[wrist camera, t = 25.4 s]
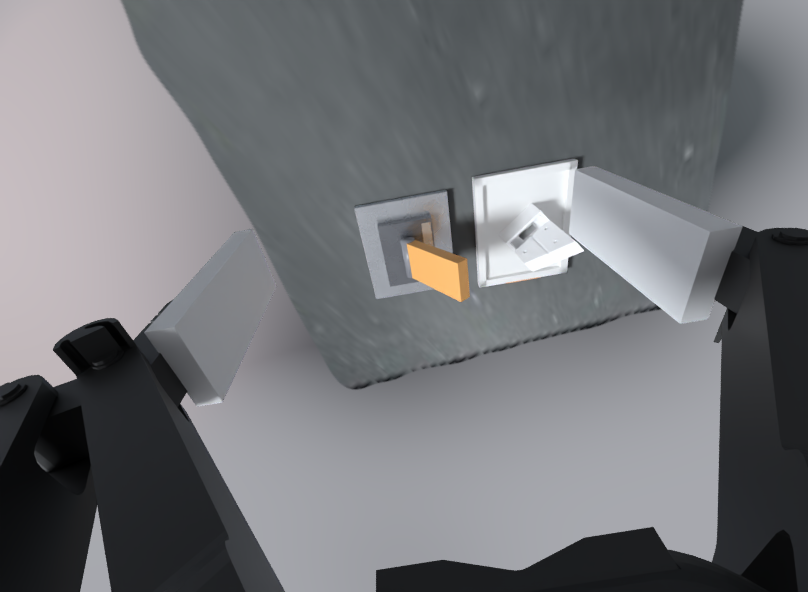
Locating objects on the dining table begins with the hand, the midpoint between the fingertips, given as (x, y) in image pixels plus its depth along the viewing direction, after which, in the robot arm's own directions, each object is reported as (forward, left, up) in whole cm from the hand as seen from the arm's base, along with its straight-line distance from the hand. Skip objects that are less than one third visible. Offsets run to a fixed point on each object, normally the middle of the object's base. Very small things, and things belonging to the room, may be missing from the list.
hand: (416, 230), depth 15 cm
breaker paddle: (+15, 0, -28) cm, 32 cm away
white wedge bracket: (+15, +16, -31) cm, 38 cm away
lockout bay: (+15, +16, -32) cm, 39 cm away
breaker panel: (+15, 0, -32) cm, 35 cm away
